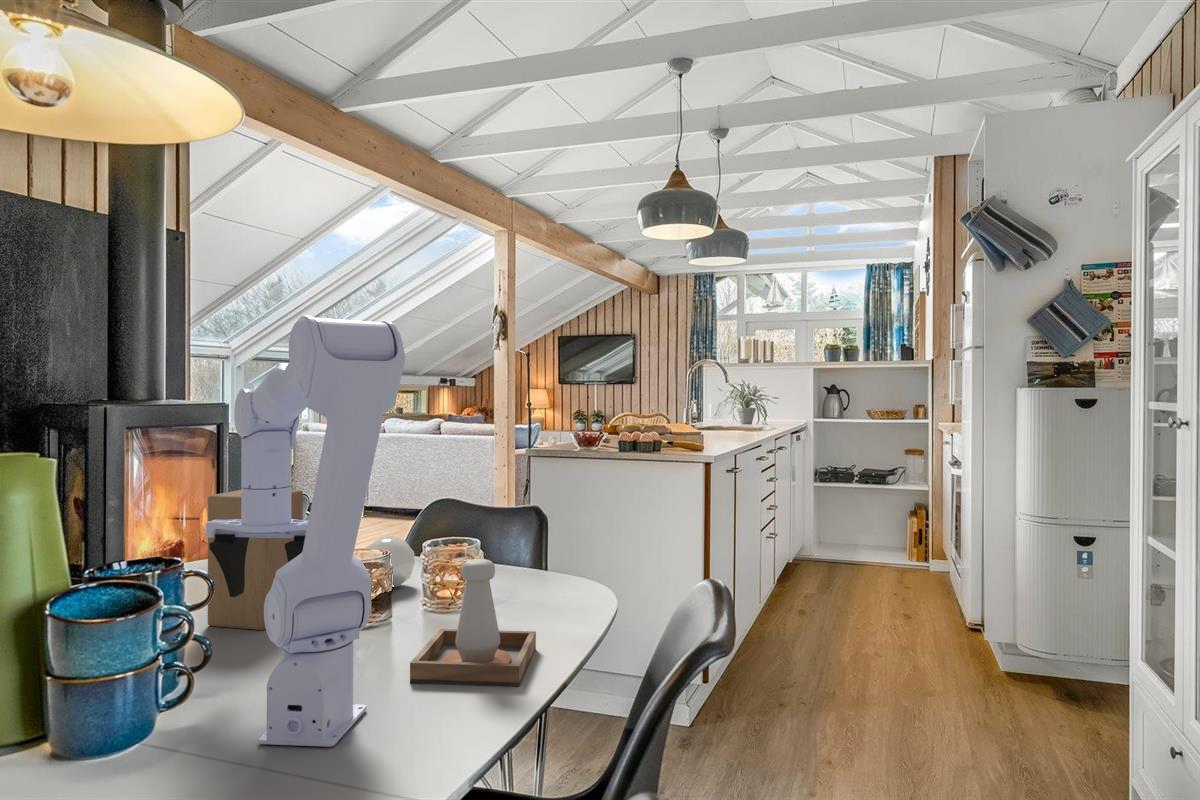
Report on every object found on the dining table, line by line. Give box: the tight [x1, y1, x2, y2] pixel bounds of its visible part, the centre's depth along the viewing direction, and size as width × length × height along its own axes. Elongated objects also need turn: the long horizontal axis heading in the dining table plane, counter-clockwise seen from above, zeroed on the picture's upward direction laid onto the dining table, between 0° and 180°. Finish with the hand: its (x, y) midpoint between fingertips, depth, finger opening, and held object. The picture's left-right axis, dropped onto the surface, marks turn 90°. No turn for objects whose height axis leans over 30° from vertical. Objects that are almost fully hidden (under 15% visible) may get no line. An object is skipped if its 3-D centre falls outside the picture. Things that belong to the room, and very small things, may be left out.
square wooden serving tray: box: [409, 628, 537, 688], centre depth 101 cm, size 14×14×2 cm
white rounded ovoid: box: [365, 535, 416, 589], centre depth 138 cm, size 9×10×15 cm
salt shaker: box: [455, 558, 500, 663], centre depth 100 cm, size 6×6×13 cm
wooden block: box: [207, 489, 304, 631], centre depth 120 cm, size 10×10×20 cm
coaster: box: [442, 649, 511, 664], centre depth 101 cm, size 9×9×1 cm
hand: (266, 595), depth 95 cm, fingers open, 7 cm apart
